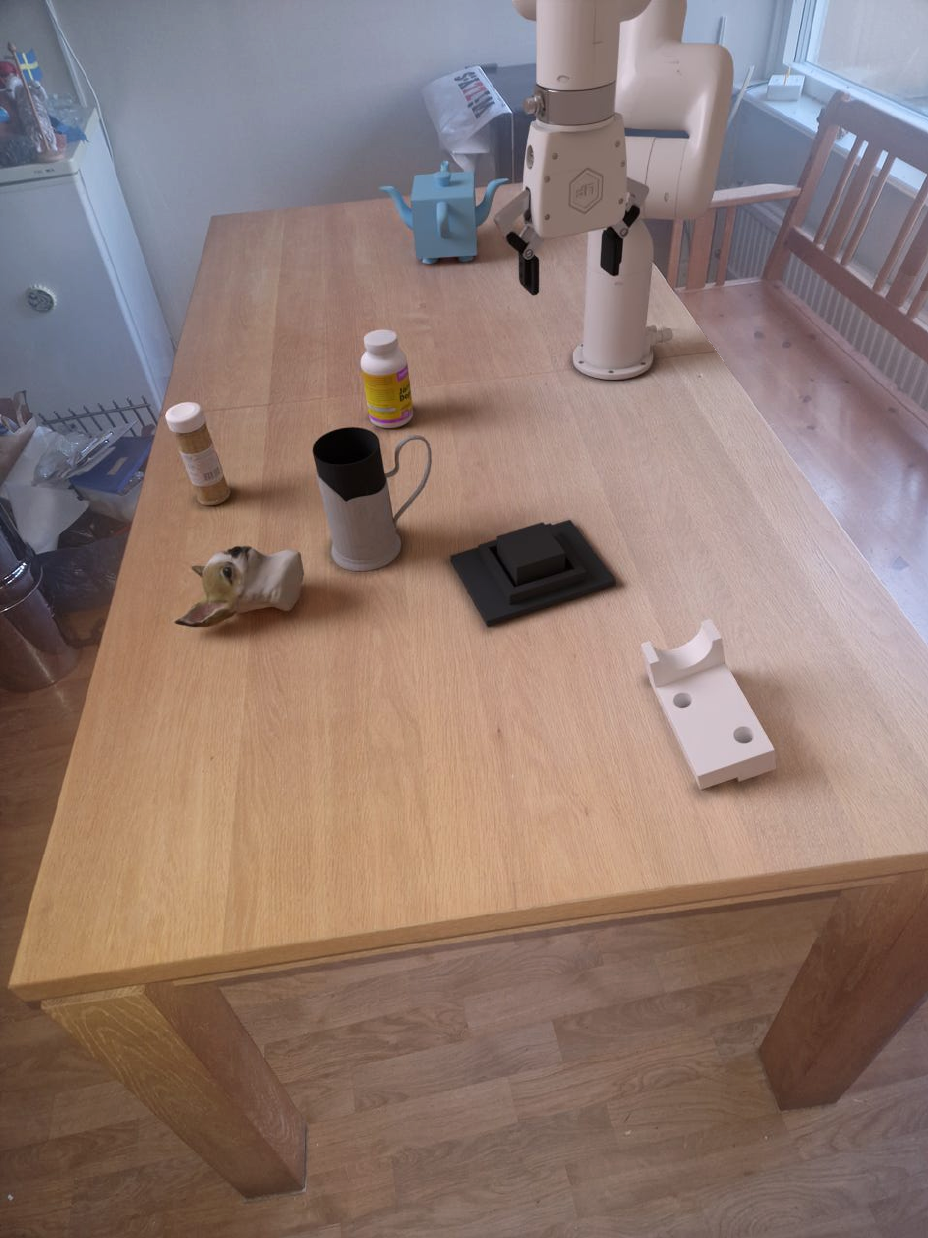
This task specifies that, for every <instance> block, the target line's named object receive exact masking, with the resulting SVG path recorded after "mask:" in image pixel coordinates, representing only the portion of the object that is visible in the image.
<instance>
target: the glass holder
mask: <svg viewBox="0 0 928 1238" xmlns="http://www.w3.org/2000/svg"><path fill="white" fill-rule="evenodd" d="M416 440H417V441H418V440H420V441H422V442H424V443H425V446H426V450H427V461H426V467H425V471H424V474H423V477H422V479H421V480H420V483H419V485H418V486H417V487H416V489H415V490H414V492H413V493H412V494H411V496H410V497H409V498H408V499H407V501H405V503H403V505H402V506H401V507H400V508H399V510H398V511H397V512H396V513H395V514H393V508H392V502H391V495H390V490H389V484H388V479H389V478H391V477H394V476H396V475H397V473H398V472H399V470H400V453H401V450H402V449H403V447H404V446H405V445H406V444H407V443H409V442H410V441H416ZM380 443H381V442H380V438H379V437H378V435H377V434H376V433H375V432H373V431H372V430H369V429H367V428H364V427H359V426H357V427H356V426H348V427H341V428H337V429H333V430H331V431H328V432H326V433H324V434H323V435H321V436H320V437H319V438H317V440H316V441H314V444H313V445H312V455H313V460H314V464H315V475H316V479H317V483H318V487H319V491H320V496H321V500H322V504H323V508H324V512H325V517H326V521H327V526H328V529H329V534H330V537H331V542H332V545H331V549H330V551H331V553H330V554H331V557H332V560H333V561H334V562H335V563H336V564H337V565H338V566H339V567H341V568H342V569H345V570H348V571H351V572H352V571H353V572H369V571H375V570H377V569H380V568H383V567H385V566H387V565H389V564H390V563H391V562H393V561H394V560H395V559H396V558H397V556H398V555H399V554H400V551H401V549H402V541H401V537H400V535H398V533H397V532H396V528H397V527H398V525H397V522H398V520H399V519H400V517H401V516H402V515H403V514H404V513H405V512H406V511H407V509H408V508H409V507H410V506H411V505H412V504H413V503H414V501H415V500H416V499H417V498H418V497H419V495H420V494H421V493H422V492H423V490H424V488H425V487H426V484H427V482H428V480H429V477H430V473H431V469H432V464H433V458H432V457H433V455H432V448H431V444H430V443H429V441H428V440H427V439H426V437H424V436H422V435H419V434H411V435H407V436H405V437H403V438H402V439H401V440H400V441H399V442H398V444H397V446H396V447H395V450H394V468H393V469H392V470H391V471H388V472H385V468H384V463H383V455H382V449H381V444H380Z"/></svg>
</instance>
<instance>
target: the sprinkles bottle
mask: <svg viewBox="0 0 928 1238" xmlns="http://www.w3.org/2000/svg"><path fill="white" fill-rule="evenodd" d="M164 416H165V420H166V423H167V426H168V428H169V430H170V432H171V433H172V435H173V437H174V440H175V442H176V445H177V447H178V451H179V455H180V457H181V459H182V462H183V464H184V467H185V469H186V472H187V474H188V477H189V480H190V482H191V484H192V486H193V489H194V491H195V494H196V499H197V501H198V502H199V503H200V504H201V505H203V506H217V505H219V504H222V503H223V502H225V501H226V500H227V499H228V498H229V497H230V495H231V489H230V487H229V485H228V484H227V480H226V478H225V475H224V471H223V467H222V464H221V460H220V458H219V455H218V452H217V451H216V448H215V445H214V442H213V439H212V438H211V434H210V431H209V429H208V426H207V420H206V419H207V418H206V416H205V413H204V410H203V407H202V406H201V405H200V404H199V403H197V402H191V401H186V402H181V403H178V404H175V405H173V406H171V407H170V408H168V410H167V411H166V413H165V415H164Z"/></svg>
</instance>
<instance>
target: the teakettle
mask: <svg viewBox="0 0 928 1238" xmlns="http://www.w3.org/2000/svg"><path fill="white" fill-rule="evenodd" d="M450 170H451V169H450V162H449V161H448V160H442V161H441V163H440V171H436V172H435V173H429V174H415V175H414V176H413V183H412V189H411V195H410V201H409V202H410V207H409V206H408V205H407V204H406V201H405V200H404V197H403V196H402V193H401V192H400V190H399V189H397V187H394V186H392V185H383V186H382V185H381V186H378V189H379V190H381V191H383V192H384V193H387V195H389V196H390V198H391V199H392V200H393V203H394V205H395V207H396V209H397V212H398V215H399V217H400V219H401V222H403V224H404V225H405V226H406V228H408V229H409V230H411V231H413V240H414V247H415V248H414V249H415V258H416V260H421V259H422V263H423V264H427V265H430V264H431V265H433V264H435V263H437V262H438V258H439V259H441V258H454V257H457V259H458V261H460V262H462V263H463V262H464V263H466V262H471V261H472V260H474V256H478V227H480V226H482V225H483V224H484V223H486V221H487V220H488V218H489V216H490V213H491V210H492V206H493V203H494V197H495V195H496V193H497V190H498V189H499V187H500V186H502V184H504V183H506V182H507V181H508V180H509V178H506V177H505V178H495V179H493V180H491V181H490V182H489V183H488V185H487V187H486V189H485V192H484V197H483V199H482V201H481V202H480V203H479V204H478V205H477V203H476V202H477V200H476V198H477V197H476V179H475V171H461V172H451V171H450Z"/></svg>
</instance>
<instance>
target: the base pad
mask: <svg viewBox="0 0 928 1238" xmlns="http://www.w3.org/2000/svg"><path fill="white" fill-rule="evenodd" d="M545 525H546V527H547V528H548V529H549V531H550V532H551V534H552V535H553V536H554V538H555V539H556V540H557V542H558V543H559V545H560V546H561V547H562V549H563V550H564V551H565V572H562V573H559V574H556V575H553V576H550V577H547V578H543V579H540V580H537V581H534V582H531V583H527V584H524V585H521V586H518V587H515V586H514V584H513V583H512V581H511V579H510V578H509V576H508V575H507V573H506V571H505V570H504V568H503V567H502V565H501V563H500V562H499V560H498V559H497V540H496V539H493V540H490V541H486V542H482V543H479V544H478V545H477V547H474V548H471V549H467V550H464V551H461V552H457V553H454V554H451V555H450V556H449V557H450V563H451V565H452V567H453V568H454V570H455V572H456V575H458V577H459V579H460V581H461V583H462V584H463V587H464V588H465V590H466V592H467V594H468V595H469V597H470V599H471V600H472V602H473V604H474V606H475V607H476V609H477V612H479V615H480V617H481V618H482V620H483V623H484V624H485V625H486V627H487V628H488V627H492V626H494V625H498V624H501V623H504V622H507V621H510V620H513V619H516V618H520V617H523V616H525V615H529V614H532V613H534V612H538V611H542V610H544V609H548V608H551V607H554V606H557V605H560V604H564V603H567V602H569V601H573V600H575V599H578V598H582V597H584V596H587V595H588V596H589V595H591V594H594V593H597V592H601V591H603V590H607V589H609V588H613V587H616V586H617V585H616V584H617V579H616V577H615V576H614V575H613V574H612V573H611V571H610V570H609V569H608V567H607V566H606V564H605V563H604V562H603V561H602V559H601V558H600V556H599V555H598V554H597V552H596V551H595V550H594V549H593V548H592V546H591V544H589V542H588V541H587V540H586V538H585V537H584V536H583V535H582V533H581V532H580V530H579V529H578V528H577V526H576V525H575V524H574V522H573V521H572V520H571V519H568V520H564V521H560V522H558V523H555V524H552V523H551V522H550V523H545Z"/></svg>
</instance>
